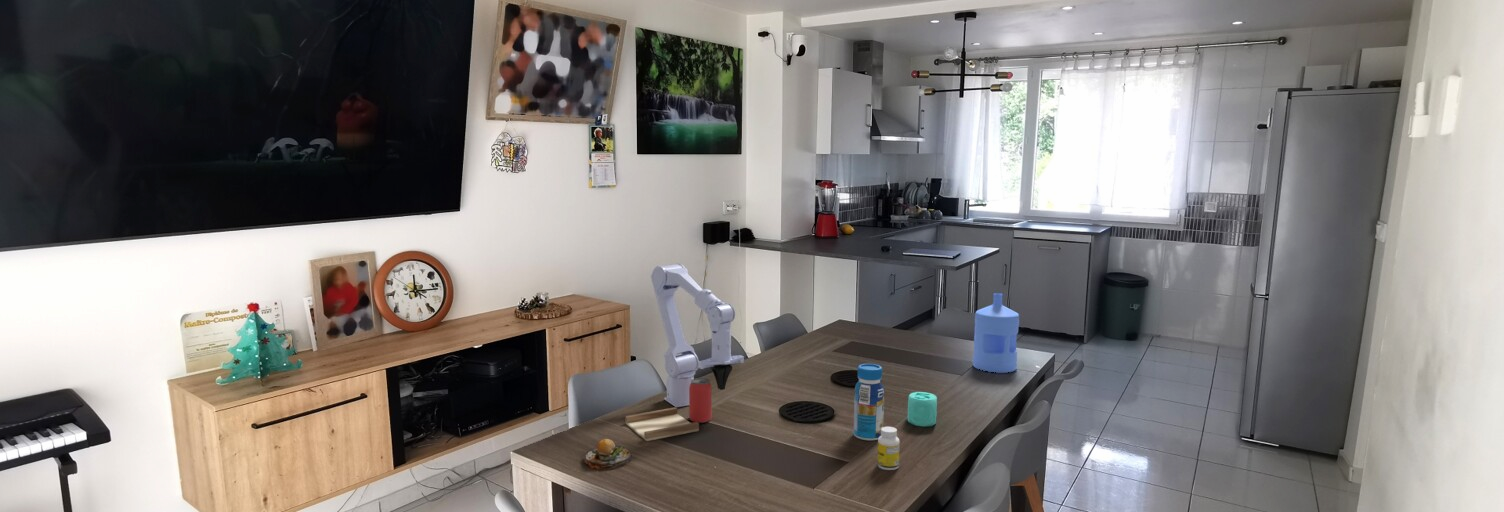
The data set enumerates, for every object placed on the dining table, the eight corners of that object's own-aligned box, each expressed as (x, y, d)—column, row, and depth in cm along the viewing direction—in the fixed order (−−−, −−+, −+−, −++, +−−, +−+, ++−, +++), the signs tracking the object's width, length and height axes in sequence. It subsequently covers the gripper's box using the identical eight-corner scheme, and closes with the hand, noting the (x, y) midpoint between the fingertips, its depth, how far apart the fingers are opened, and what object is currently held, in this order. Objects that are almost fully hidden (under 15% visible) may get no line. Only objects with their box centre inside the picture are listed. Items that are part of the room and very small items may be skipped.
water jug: (964, 364, 285) (967, 291, 281) (999, 360, 289) (1003, 289, 286) (988, 375, 270) (992, 298, 266) (1025, 371, 274) (1029, 296, 271)
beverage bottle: (847, 432, 213) (849, 364, 210) (873, 429, 216) (875, 361, 213) (862, 443, 205) (863, 372, 202) (889, 439, 208) (891, 369, 205)
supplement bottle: (874, 462, 192) (875, 425, 191) (895, 461, 193) (896, 425, 191) (880, 471, 187) (881, 433, 186) (901, 470, 187) (902, 432, 186)
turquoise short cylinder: (936, 419, 225) (937, 393, 224) (935, 428, 217) (936, 401, 216) (909, 416, 227) (909, 390, 226) (907, 425, 219) (908, 398, 218)
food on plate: (640, 457, 195) (640, 430, 194) (610, 474, 185) (609, 445, 184) (605, 448, 201) (605, 421, 200) (574, 464, 191) (573, 435, 190)
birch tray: (625, 423, 219) (625, 416, 219) (675, 414, 228) (675, 407, 227) (646, 441, 206) (646, 433, 206) (698, 430, 214) (698, 423, 214)
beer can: (708, 424, 219) (708, 384, 217) (686, 422, 220) (686, 383, 219) (714, 416, 225) (713, 378, 224) (692, 415, 227) (692, 376, 225)
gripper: (705, 350, 216) (705, 396, 218) (749, 344, 224) (748, 388, 226) (694, 345, 223) (695, 389, 224) (737, 339, 230) (737, 382, 232)
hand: (721, 388), depth 225 cm, fingers closed
